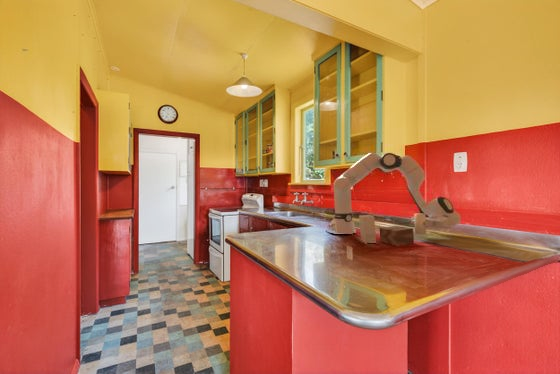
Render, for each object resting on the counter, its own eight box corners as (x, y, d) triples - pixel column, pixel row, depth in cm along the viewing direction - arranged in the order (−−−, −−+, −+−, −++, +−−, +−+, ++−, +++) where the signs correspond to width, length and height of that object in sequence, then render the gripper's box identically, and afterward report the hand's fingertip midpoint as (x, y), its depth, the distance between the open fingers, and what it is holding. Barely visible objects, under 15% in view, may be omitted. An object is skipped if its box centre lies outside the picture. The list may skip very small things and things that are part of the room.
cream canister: (412, 233, 143) (411, 213, 143) (419, 232, 145) (419, 213, 145) (421, 234, 138) (420, 214, 137) (428, 233, 139) (427, 214, 139)
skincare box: (376, 244, 139) (375, 216, 139) (364, 244, 139) (363, 216, 139) (371, 240, 147) (369, 214, 147) (359, 241, 147) (358, 214, 147)
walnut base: (380, 241, 143) (379, 227, 143) (396, 239, 148) (395, 225, 148) (396, 246, 132) (395, 230, 132) (413, 243, 136) (413, 228, 136)
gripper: (420, 213, 155) (403, 215, 150) (453, 217, 136) (435, 219, 131) (421, 223, 155) (404, 226, 151) (454, 228, 136) (435, 231, 131)
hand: (418, 222), depth 141 cm, fingers closed on cream canister, 5 cm apart
